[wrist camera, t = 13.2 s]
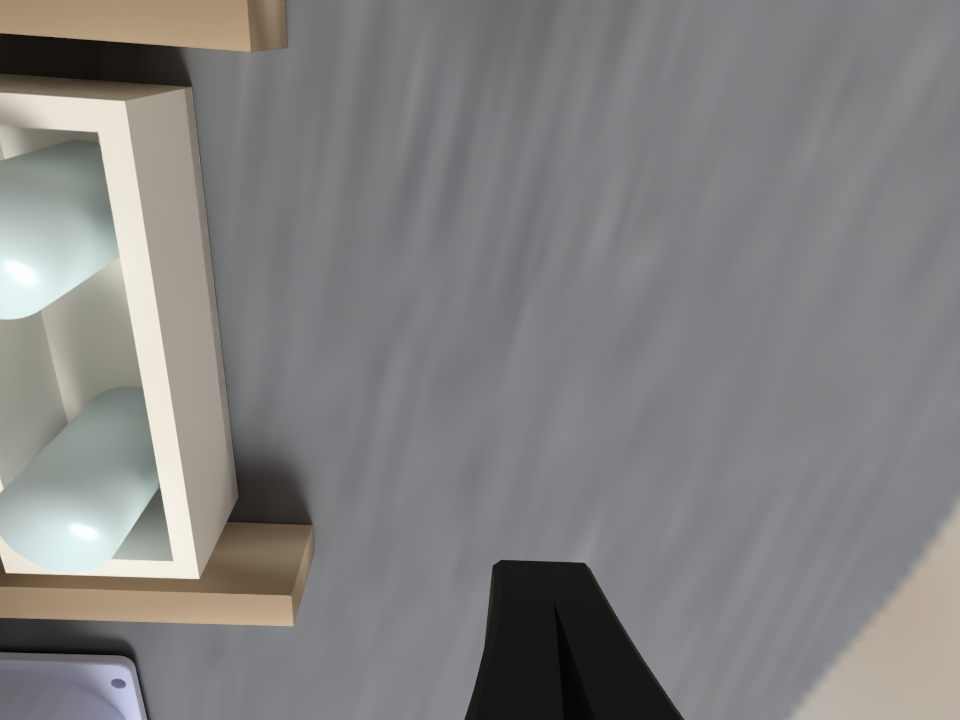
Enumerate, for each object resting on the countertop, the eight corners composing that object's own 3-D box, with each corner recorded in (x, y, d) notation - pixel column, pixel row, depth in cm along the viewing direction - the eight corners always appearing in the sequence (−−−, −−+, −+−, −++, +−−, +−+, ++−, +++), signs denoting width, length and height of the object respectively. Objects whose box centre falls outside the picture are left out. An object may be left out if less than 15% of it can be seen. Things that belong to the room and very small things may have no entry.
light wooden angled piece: (314, 553, 22) (276, 686, 18) (-83, 539, 21) (-228, 674, 17) (284, -12, 15) (207, -30, 10) (-317, -60, 14) (-676, -102, 10)
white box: (238, 496, 21) (182, 614, 17) (74, 490, 21) (-24, 608, 16) (192, 87, 16) (93, 107, 11) (-29, 71, 15) (-213, 86, 11)
